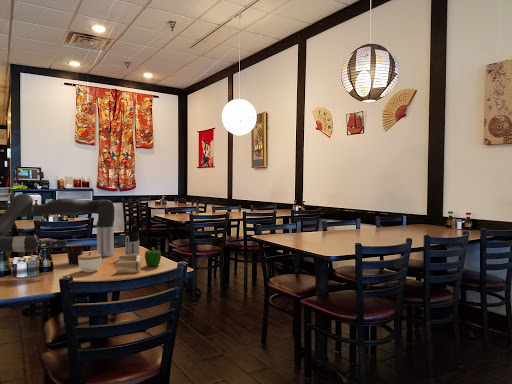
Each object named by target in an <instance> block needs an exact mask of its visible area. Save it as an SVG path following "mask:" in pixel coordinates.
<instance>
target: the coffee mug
mask: <svg viewBox="0 0 512 384" xmlns="http://www.w3.org/2000/svg"><path fill="white" fill-rule="evenodd" d="M65 246H66V253H67V260H68V261H67V262H68V265H79V264H78V256H79V255H83V254H84V246H85V244H84V243H69V244H66V245H65Z"/></svg>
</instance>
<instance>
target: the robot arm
mask: <svg viewBox="0 0 512 384" xmlns="http://www.w3.org/2000/svg"><path fill="white" fill-rule="evenodd" d="M81 214H82V215H83V214H96V215H98V216H97V222H96V253H98V254H101V255H102V256H101V257H111V256H113V255H114V251H115V250H114V249H115V248H114V247H115V245H114V223H115V204H114V203H113V202H112V201H111V200H109V199H97V200H84V199H83V200H82V199H78V198H77V199H76V198H57V199H54V200H51V201H48V202H46V203H42V204H34V200H33V198H32V196H31V195H30V194H27V193H18V194H16V195H15V196H14V198H13V199H12V201H11V202H10V204H9V206H7V208H6V210H5V211H4V212H3V214H2V215H1V216H0V251H1V252H3V253H14V252H15V253H16V252H17V253H31V252H33V253H34V252H37V251H38V250H39V248H41V249H44V248H51V247H52V248H53V247H56V246H66V245H67V240H66V239H62V240H61V239H60V240H59V239H57V238H56V239H55V238H41V239H40V240H39V236H38V235H18V236H6V235H7V234H8V233H9V232H10V230H11V229H12V227H14V224H15V222H16V220H17V218H19V217H21V218H22V217H24V218H25V217H35V216H36V217H37V216H74V215H81Z"/></svg>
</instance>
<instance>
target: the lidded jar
mask: <svg viewBox="0 0 512 384" xmlns="http://www.w3.org/2000/svg"><path fill="white" fill-rule="evenodd" d="M102 257H103V256H102V255H101V254H98V253H97V252H96V253H95V252H94V253H92V252H91V251H88V253H83V255H79V256H78V264H77V265H78V266H79V269H80V270H81V271H83V273H93V272H97V270H98V269H99V268H100V267H101V264H102Z"/></svg>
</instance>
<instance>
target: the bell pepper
mask: <svg viewBox="0 0 512 384" xmlns="http://www.w3.org/2000/svg"><path fill="white" fill-rule="evenodd" d="M144 259H145V260H144V261H145V264H146V266H147V267H157V266H159V264H160V263H161V259H162V252H161V250H160V249H157V250H156V249H155V247H154V246H153V247H152V248H151V250H149V249H148V250H146V251H145V253H144Z"/></svg>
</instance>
